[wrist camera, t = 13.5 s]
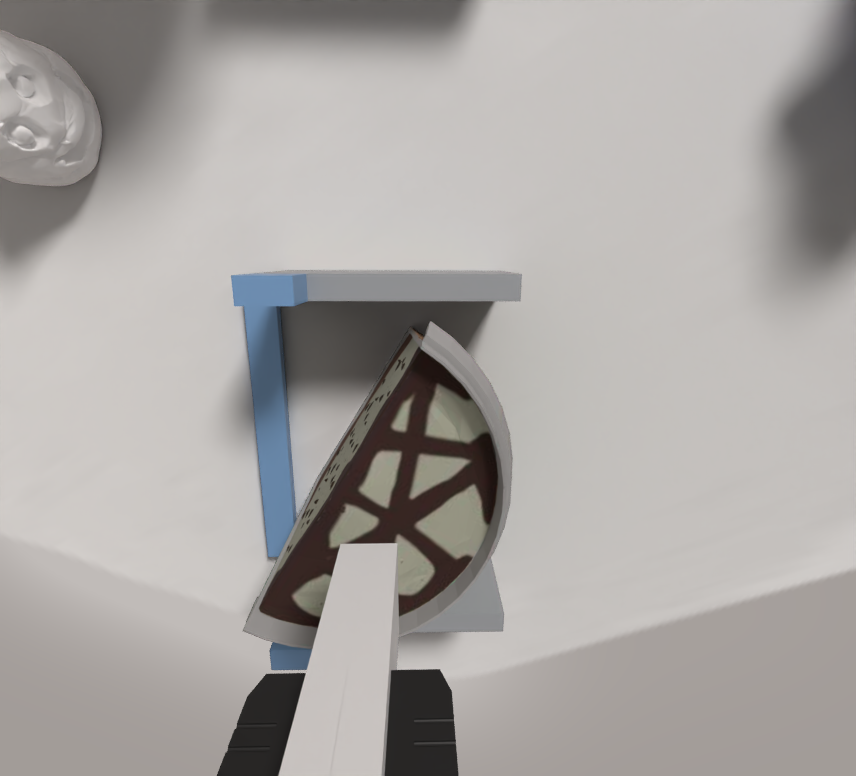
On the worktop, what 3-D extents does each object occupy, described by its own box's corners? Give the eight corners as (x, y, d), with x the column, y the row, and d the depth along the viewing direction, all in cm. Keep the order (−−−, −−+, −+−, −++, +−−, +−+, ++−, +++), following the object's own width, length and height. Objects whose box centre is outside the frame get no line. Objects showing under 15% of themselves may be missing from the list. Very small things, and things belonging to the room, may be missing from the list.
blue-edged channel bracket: (515, -124, 19) (570, -340, 12) (488, 564, 27) (511, 667, 20) (207, -129, 19) (85, -351, 12) (273, 566, 27) (223, 670, 20)
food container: (402, 550, 27) (393, 716, 17) (304, 497, 26) (234, 642, 16) (531, 366, 24) (606, 438, 14) (426, 300, 23) (431, 329, 13)
